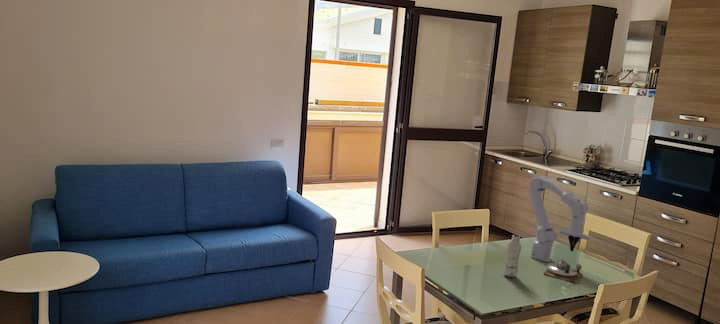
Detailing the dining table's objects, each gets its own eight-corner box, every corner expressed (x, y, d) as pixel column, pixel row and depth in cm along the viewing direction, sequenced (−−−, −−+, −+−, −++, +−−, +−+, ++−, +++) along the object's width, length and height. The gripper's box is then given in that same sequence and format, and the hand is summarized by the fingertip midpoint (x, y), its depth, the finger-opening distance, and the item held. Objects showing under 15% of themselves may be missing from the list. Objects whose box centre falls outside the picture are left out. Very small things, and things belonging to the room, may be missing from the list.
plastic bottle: (517, 275, 265) (524, 235, 262) (515, 280, 259) (522, 239, 256) (504, 272, 268) (510, 232, 264) (501, 276, 262) (508, 236, 258)
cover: (558, 269, 272) (560, 261, 272) (555, 265, 277) (556, 258, 276) (568, 270, 272) (570, 262, 272) (564, 266, 277) (566, 259, 277)
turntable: (552, 275, 268) (554, 264, 267) (542, 265, 282) (544, 254, 281) (581, 278, 269) (583, 267, 268) (569, 267, 282) (571, 257, 281)
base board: (543, 274, 271) (545, 264, 270) (549, 265, 285) (550, 256, 284) (577, 283, 263) (579, 273, 263) (582, 274, 277) (583, 264, 276)
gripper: (560, 223, 279) (555, 248, 281) (591, 229, 272) (585, 256, 275) (562, 220, 285) (557, 245, 287) (592, 226, 278) (587, 252, 281)
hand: (571, 250), depth 281 cm, fingers closed
